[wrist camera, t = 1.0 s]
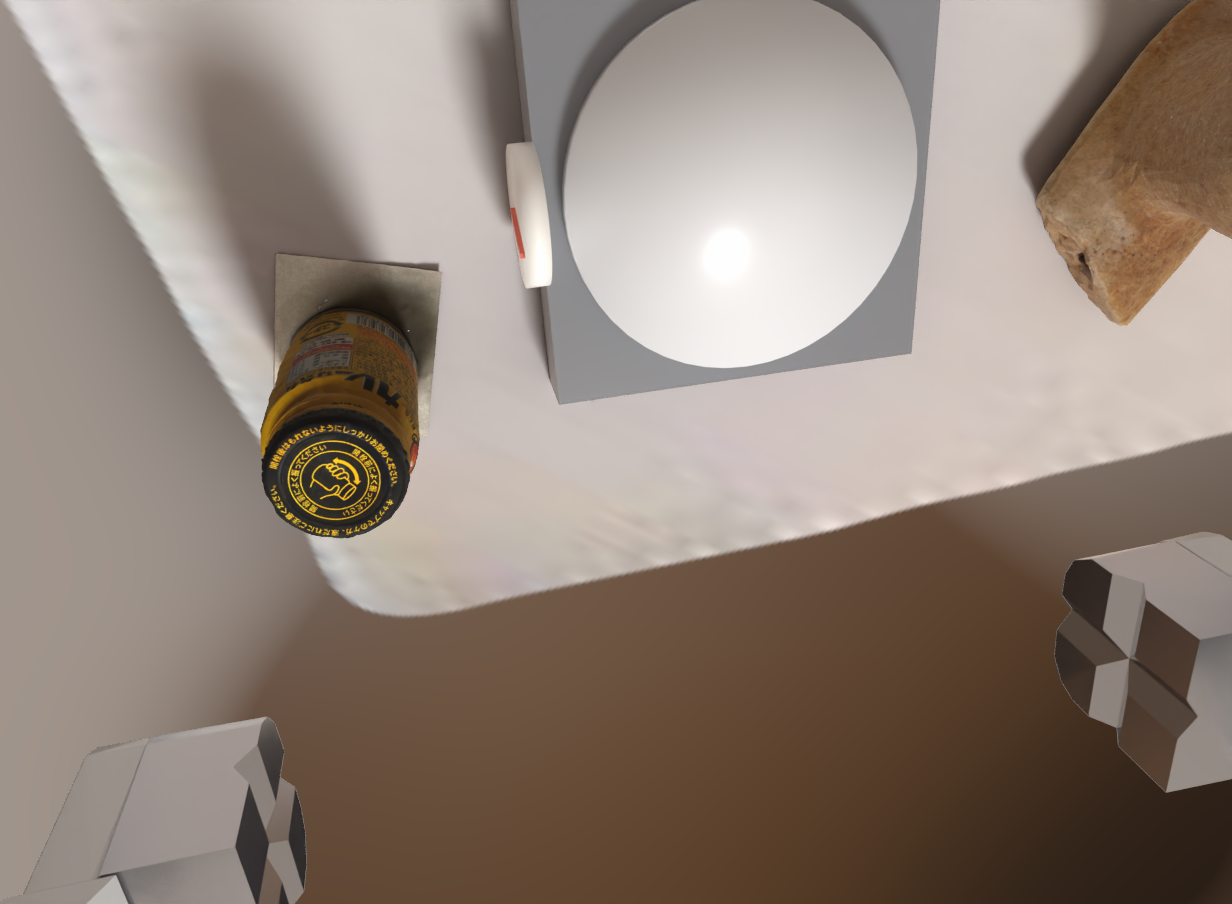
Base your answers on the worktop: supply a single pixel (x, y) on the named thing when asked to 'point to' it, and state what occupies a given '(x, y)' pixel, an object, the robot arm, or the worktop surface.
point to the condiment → (347, 390)
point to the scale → (719, 184)
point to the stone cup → (1149, 166)
